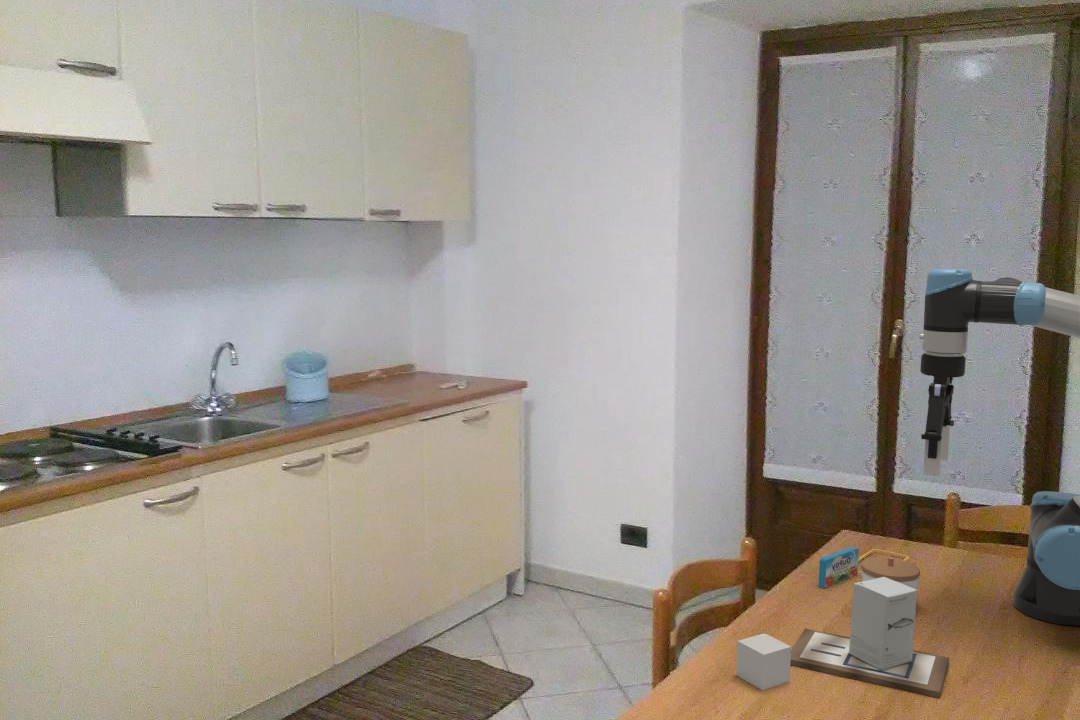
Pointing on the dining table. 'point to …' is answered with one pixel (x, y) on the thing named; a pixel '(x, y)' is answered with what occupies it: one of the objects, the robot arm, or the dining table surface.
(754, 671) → the gray cube
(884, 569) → the lidded jar
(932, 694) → the brown framed board
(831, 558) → the yogurt
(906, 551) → the dining table surface
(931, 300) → the robot arm
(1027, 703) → the dining table surface
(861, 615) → the supplement box
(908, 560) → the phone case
